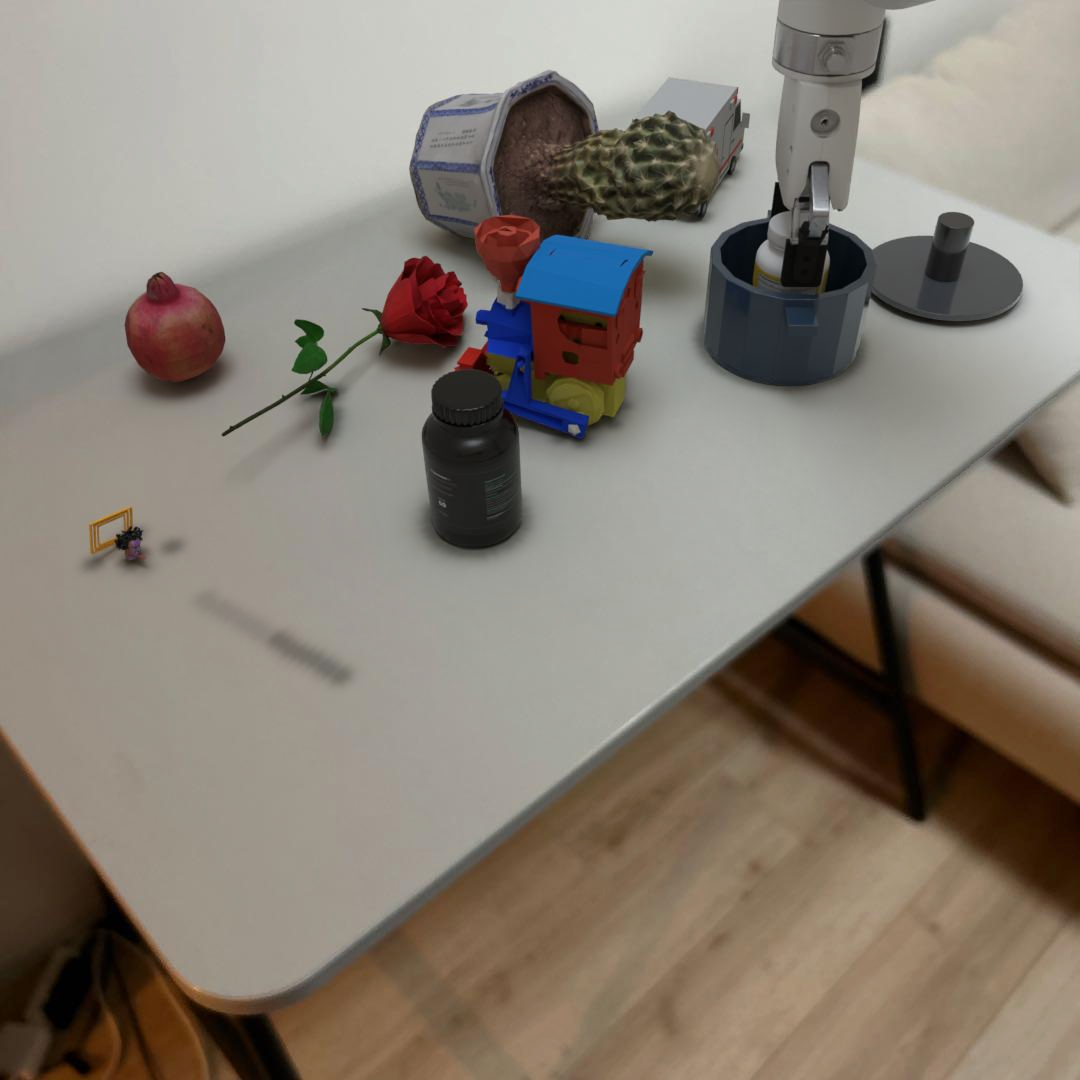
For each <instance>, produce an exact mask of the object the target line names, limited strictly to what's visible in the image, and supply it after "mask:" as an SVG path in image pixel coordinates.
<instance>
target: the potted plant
mask: <svg viewBox="0 0 1080 1080" xmlns="http://www.w3.org/2000/svg"><path fill="white" fill-rule="evenodd" d="M421 117H422V118H421V120H420V123H419V126H418V130H417V132H416V134H415V138H414V139H415V140H414V147H413V150H412V155H411V158H410V162H409V167H408V171H409V177H410V182H411V185H412V187H413V192H414V195H415V200H416V203H417V207H418V209H419V211H420V213H421V214H422V216H423V217H424V218H425V220H426V221H427V222H430V223H431V224H433V225H435V226H437V227H439V228H441V229H443V230H444V231H447V232H448V233H450V234H453V235H455V236H458V237H459V236H460V237H465V238H469V239H473V240H475V233H474V229H475V228H476V227H477V226H478V225H479V224H480V223H481V222H482V221H484V220H486V219H489V218H491V217H494V216H504V215H516V216H520V217H525V218H530V219H532V220H533V221H535V222H536V223H537V224H538V225H539V226H540V245H541V243H542V242H543V240H545V239H547V238H549V237H551V236H553V235H563V236H569V237H575V238H580V239H586V240H587V236H588V234H589V231H590V228H591V225H592V222H593V218H594V214H597V215H598V216H605V217H606V218H605V219H606V220H607V221H613V220H615V221H616V220H624V219H636V220H645V221H646V222H648V223H649V222H655V223H657V221H672V222H674V221H677V220H678V219H679V218H680V216H681V215H683V214H684V213H683V212H684V211H689V212H690V213H695V212H696V211H697V209H698V207H699V206H700V205H701V204H702V203H703V202H705V201H706V200H708V201H709V200H710V198H711V197H712V195H713V193H714V192H713V189H714V188H715V186H716V184H717V183H718V177H719V169H720V162H719V160H718V158H717V146H715V144H716V143H715V142H714V141H709V140H708V138H707V134H706V130H705V129H704V128H700V127H698V126H696V125H694V124H692V123H690V122H688V121H686V120H683V119H680V118H679V117H677V116H676V114H675V113H674V112H671V111H668V112H666V113H665V114H664V115H660V114H656V113H655V114H654V115H653V117H650V116H647V117H644V118H642V119H641V120H639V119H635V120H634V121H633V122H632V121H631V123H630V124H629V126H628V127H627V128H626V129H625V130H622V129H618V128H617V127H615V128H613V129H600V128H599V124H598V119H597V115H596V111H595V106H594V103H593V102H592V100H591V99H590V98H589V97H588V95H586V93H585V92H584V91H583V90H582V89H581V88H580V87H579V86H578V85H577V84H575V83H574V82H573V81H571V80H569V79H568V78H567V77H564V76H562V75H561V74H560V73H558V71H557V70H553V69H546V70H544V71H542V72H540V73H537V74H536V75H533V76H531V77H529V78H527V79H525V80H523V81H518V82H517V83H516V84H514V85H513V86H511V87H509V88H507V89H505V90H504V91H503V92H496V93H464V94H463V93H462V94H456V95H454V96H451V97H448V98H445V99H442V100H440V101H437V102H435V103H433V104H431V105H430V106H428V107H427V109H426V110H425V111H424V113H423V115H422V116H421ZM712 192H713V193H712Z"/></svg>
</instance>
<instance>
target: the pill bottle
mask: <svg viewBox="0 0 1080 1080" xmlns="http://www.w3.org/2000/svg"><path fill="white" fill-rule="evenodd" d="M808 215H809V213H800V227H801V225H802V224H803V222H804V221H808ZM767 236H768V237H767V238H768V240H766V241H765V242H763V243H762V244H761V246H760V247H759V249H758V251H757V254H756V259H755V267H754V275H753V283H752V286H754V287H756V288H760V289H765V290H769V291H774V292H778V293H782V294H801V295H816V294H821V293H825V287H826V281H827V276H828V271H829V265H830V256H829V253H828V251H827V253H826V258H825V264H824V270H823V275H822V281H821V285H820V286H819V287H783V286H782V285H781V281H780V279H781V272H782V265H783V258H784V251H785V244H786V239H790V237H791V211H787V212H782V213H779V214H777V215H775V216H774V217H772V218H771V220H770V222H769V227H768V233H767Z"/></svg>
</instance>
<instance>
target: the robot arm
mask: <svg viewBox="0 0 1080 1080" xmlns="http://www.w3.org/2000/svg"><path fill="white" fill-rule="evenodd" d="M935 1H936V0H778V6H777V14H776V15H777V16H776V24H775V31H774V40H773V47H772V48H773V49H772V57H771V65H772V67H773V69H774V70H775V71H777V72H778V73H779V74H781V75H783V84H782V91H781V97H780V104H779V112H778V120H777V128H776V129H777V130H776V138H775V139H776V140H775V156H774V157H775V170H776V175H777V181H775V182H774V188H773V194H772V195H773V196H772V203H771V209H770V210H771V217H770V220H771V218H772V217H774V216H775V215H777V214H779V213H782V212H787V211H791V237H790V239H786V244H785V251H784V258H783V265H782V272H781V279H780V281H781V285H782V286H783V287H819V286H820V285H821V281H822V275H823V270H824V264H825V258H826V253H827V247H828V235H829V223H830V208H831V209H832V210H833V211H835V210H836V211H837V212H843V211H844V210H845V209H846V208H847V207H848V205H849V200H850V199H849V198H850V193H851V192H850V191H851V184H852V177H853V170H854V163H855V156H856V148H857V139H858V133H859V127H860V126H859V124H860V116H861V107H862V106H861V105H862V104H861V103H862V88H863V79H865V78H868V77H869V76H871V75H872V74H873V73H874V71H875V70H876V63H877V59H878V54H879V48H880V43H881V38H882V31H883V27H884V21H885V16H886V11H887V10H889V11H897V10H905V9H909V8H913V7H917V6H921V5H924V4H928V3H931V2H935ZM800 213H809V215H808V221H804V222H803V224H802V225H801V227H800Z"/></svg>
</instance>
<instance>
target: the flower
mask: <svg viewBox="0 0 1080 1080" xmlns="http://www.w3.org/2000/svg"><path fill="white" fill-rule="evenodd" d="M462 285H463V283H462V281H460V280H459V277H458V276H457V274H456V272H455V271H454V270H453V271H447V272H445V271H444V269H443V267H442V264H441V263H439V262H436V263H435V262H434V261H433V260H432V258H430V257H429V256H428V255H423V256H421V257H420V258H418V257H411V258H409V259H407V260H404V261H403V269H402V272H401V273H400V274H399V275H398V277H397V279H396V280H395V282H394V284H393V285H392V286H391V288H390V290H389V291H388V293H387V296H386V299H385V302H384V305H383V309H382V312H381V310H378V309H372V308H366V307H362V308H361V310H363V311H365V312H368V313H369V312H370V313H372V314H373V315H374V316H375V318H376V319H377V321H378V322H379V323H378V325H377V328H376V330H374V331H372V332H370V333H369V334H367V335H366V336H364V337H362V338H361V339H359V340H357V341H356V342H355V343H354V344H352V345H351V346H350V347H348V349H347V350H346V351H345V352H343V353H342V354H341V355H340V356H339V357H338V358H337V359H336V360H335V361H334V362H332V363H331V364H330V365H329V366H327V367H326V368H325V369H324V370H323V371H321V372H320V373H318V374H317V375H315V376H314V377H313V375H314V372H317V371H319V370H320V369H321V368H323V367H324V366H326V364H327V363H328V355H327V353H326V351H325V350H324V349H323V348H322V347H321V346H319V345H318V342H320V341H321V340H322V339H323V338H324V336H325V330H324V329H323V327H322V326H320V325H319V324H317V323H316V322H313V321H310V320H307V319H299V318H298V319H297V318H296V319H295V320H294V321H293V324H294V325H295V326H296V327H298V328H299V329H301V330H302V331H303V333H304V334H305V335H301V336H299V337H298V338H297V339H296V340H294V342H295V343H296V345H297V346H298V347H299V348H301V350H300V351H299V352H298V355H297V356H296V358H295V360H294V363H293V366H292V368H291V369H290V371H291V372H293V373H296V374H299V375H308V374H310V376H309V378H308V380H307V381H306V382H305V383H303V384H301V385H299V386H298V387H297V388H295V389H294V390H292V391H291V392H289V393H287V394H286V395H284V394H282V395H281V398H279V399H278V400H276V401H274V402H272V403H271V404H269V405H268V406H266V407H264V408H262V409H261V410H259V411H257V412H255V413H253V414H251V415H250V416H247V417H246V418H244V419H243V420H241V421H239V422H237V423H236V424H234V425H229V428H228V429H226V430H224V432H222V433H221V437H226V436H227V435H229V434H231V433H232V432H235V431H236V430H237V429H240V428H241V427H243V426H245V425H246V424H248V423H250V422H252V421H253V420H255V419H257V418H258V417H261V415H264V414H265V413H267V412H269V411H271V410H272V409H275V408H276V407H279V406H280V405H282V404H283V403H285V402H286V401H287V400H289V399H290V398H292V397H294V396H295V395H297V394H298V393H300V396H302V395H310V394H314V393H315V394H316V393H317V392H320V391H324V390H327V392H326V395H325V397H324V399H323V401H322V403H321V406H320V409H319V421H318V428H319V432H320V435H321V437H323V438H324V437H327V435H328V434H329V433H330V432H331V431H332V428H333V425H334V420H335V419H334V418H335V412H334V404H333V403H334V402H333V400H332V397H331V393H334V391H338V390H339V388H337V387H332V386H329V385H327V384H325V383H323V382H322V381H320V379H322V378H323V377H327V374H329V373H330V372H331V371H332V370H333V369H334V368H336V366H338V365H339V364H340V363H341V362H342V361H344V360H345V359H346V358H347V357H348V356H349V355H350V354H351V353H352V352H353V351H354V350H355V349H357V348H358V347H359V346H361V345H363V344H364V343H365V342H367V341H368V340H370V339H372V338H373V337H374V336H376V335H378V334H379V335H382V340H381V345H380V349H379V353H378V356H379V357H380V356H381V355H382V354H383V352H385V351H387V350H388V349H389V348H390V347H391V345H392V341H391V339H392V340H395V341H398V342H403V343H406V344H413V345H428V344H429V345H430V344H435V345H437V346H440V347H441V348H443V349H445V347H446V346H448V347H456V346H457V345H458V344H459V338H458V337H457V336H463V328H464V313H465V311H466V309H467V308H468V301H467V297H468V296H467V294H466V293H465V289H464V288H463V286H462Z"/></svg>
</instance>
